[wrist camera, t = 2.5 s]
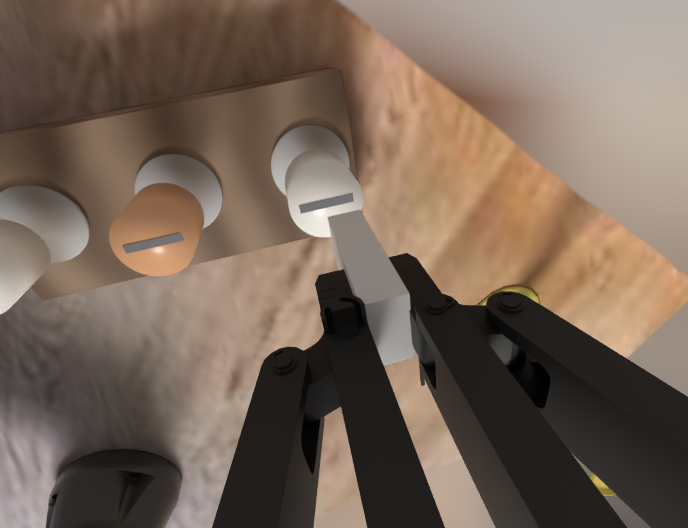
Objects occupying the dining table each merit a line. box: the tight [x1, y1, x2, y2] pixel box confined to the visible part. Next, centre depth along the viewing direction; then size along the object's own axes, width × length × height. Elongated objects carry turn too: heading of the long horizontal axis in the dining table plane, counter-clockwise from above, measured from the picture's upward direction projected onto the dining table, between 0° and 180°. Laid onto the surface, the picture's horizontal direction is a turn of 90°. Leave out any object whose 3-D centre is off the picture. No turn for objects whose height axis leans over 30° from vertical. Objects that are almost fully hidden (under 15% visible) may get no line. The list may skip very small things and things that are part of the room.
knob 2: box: [285, 149, 363, 237], centre depth 23 cm, size 4×4×4 cm
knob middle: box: [109, 183, 204, 276], centre depth 22 cm, size 4×4×4 cm
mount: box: [0, 68, 363, 300], centre depth 29 cm, size 27×12×5 cm, turn 99°
